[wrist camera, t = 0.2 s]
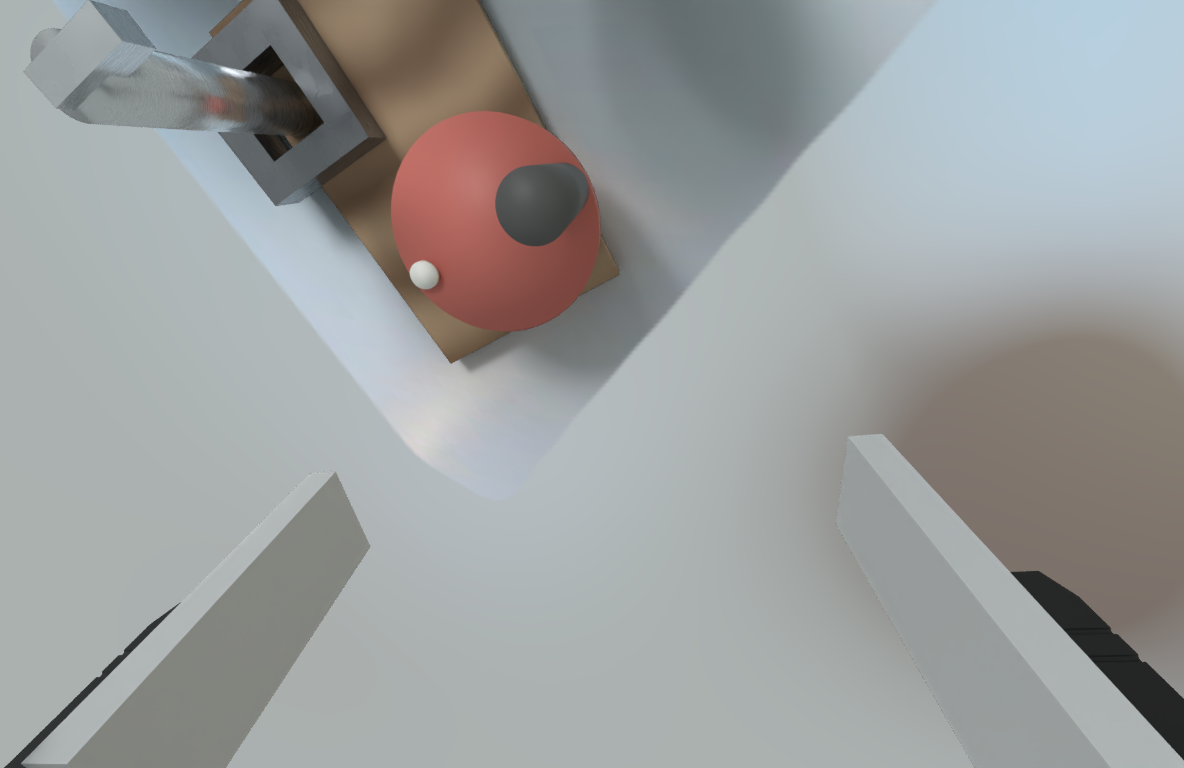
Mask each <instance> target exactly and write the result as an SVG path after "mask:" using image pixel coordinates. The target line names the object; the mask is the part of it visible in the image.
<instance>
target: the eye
mask: <svg viewBox="0 0 1184 768" xmlns="http://www.w3.org/2000/svg"><path fill="white" fill-rule="evenodd" d="M191 59H195V60H199V61H203V62H208V63H212V64H217V65H221V66H226V67H230V68H234V69H239V70H243V71H248V72H252V73H257V74H261V75H266V76H270V77H271V76H272V75H273V74H274V73H275V72H277V71H278V70H279V69H280V68H281V67H282V66H284V65H285V66H286V68H287V69H288V71H289V72H290V74H291V75H292V77H293V78H294V80H295V81H296V82H297V84H298V85H299V87H300V88H301V90H302V91H303V93H304V94H305V95H306V97H307V98H308V100H309V101H310V103H311V104H312V106H313V107H314V108H315V110H316V111H317V113H318V114H319V116H320V117H321V119H322V120H323V121H324V123H323V124H322V125H321V126H320V127H318V128H317V129H316V130H314V131H313V132H312V133H311V134H309V135H308V136H307V137H306V138H304V139H303V140H302V141H300V142H299V143H298V144H297V145H295V146H294V147H293V148H291V149H289V148H288V146H287V145H286V144H285V142H284V141H283V140H282V138H281V137H280V135H264V134H248V133H231V132H218V133H219V134H220V135H221V137H222V138H223V139H224V141H225V142H226V143H227V144H228V146H229V147H230V148H231V149H232V151H233V152H234V153H235V155H236V156H237V157H238V158H239V160H240V161H241V162H242V164H243V165H244V166H245V167H246V169H247V170H248V171H249V173H250V174H251V175H252V176H253V178H254V179H255V180H256V181H257V183H258V184H259V185H260V187H261V188H262V189H263V190H264V192H265V193H266V194H267V196H268V197H269V198H270V199H271V201H272V202H273V203H274V205H275V206H280V205H287V204H294V203H299V202H301V201H302V200H304V199H305V198H306V197H308V196H309V195H310V194H312V193H313V192H314V191H316V190H317V189H319V188H320V187H321V186H323V185H324V184H325V183H327V182H328V181H329V180H331V179H332V178H334V177H335V176H336V175H338V174H339V173H340V172H342V171H343V170H345V169H346V168H347V167H349V166H350V165H351V164H353V163H354V162H355V161H357V160H358V159H360V158H361V157H362V156H364V155H365V154H366V153H368V152H369V151H371V150H372V149H373V148H375V147H376V146H377V145H379V144H380V143H381V142H383V141H384V140H386V139H387V137H386V135H385V134H384V132H383V131H382V129H381V128H380V126H379V125H378V123H377V122H376V120H375V119H374V117H373V115H372V114H371V112H370V111H369V109H368V108H367V106H366V105H365V103H364V102H363V100H362V99H361V97H360V95H359V94H358V92H357V91H356V89H355V88H354V86H353V85H352V83H351V82H350V80H349V78H348V77H347V75H346V74H345V72H344V71H343V69H342V68H341V66H340V65H339V63H338V62H337V60H336V58H335V57H334V55H333V54H332V52H331V51H330V49H329V48H328V46H327V45H326V43H325V42H324V40H323V38H322V37H321V35H320V34H319V32H318V31H317V29H316V28H315V26H314V25H313V23H312V22H311V20H310V18H309V17H308V15H307V14H306V12H305V11H304V9H303V8H302V6H301V5H300V3H299V1H298V0H253V1H252V2H251V3H250V4H249V5H248V6H247V7H246V8H244V9H243V10H242V11H241V12H240V13H239V14H238V15H237V16H236V17H235V18H234V19H233V20H232V21H231V22H230V23H228V24H227V25H226V26H225V27H224V28H223V29H222V30H221V31H220V32H219V33H218V34H217V35H216V36H215V37H214V38H212V39H211V40H210V41H209V42H208V43H207V44H206V45H205V46H204V47H203V48H202V49H201V50H200V51H199V52H198V53H196V54H195V55H194V56H193V57H192V58H191Z"/></svg>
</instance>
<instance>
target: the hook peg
mask: <svg viewBox="0 0 1184 768" xmlns="http://www.w3.org/2000/svg"><path fill="white" fill-rule="evenodd" d="M155 50H156V48H155V46H154V45H153V44H152V43H151V41H150V40H149V39H148V37H147V36H146V35H145V34H144V32H143V31H142V30H141V29H140V27H139V26H138V25H137V23H136V22H135V21H134V20H133V18H132V17H131V16H130V14H129V13H128V12H127V11H126V10H123V9H119V8H116V7H112V6H109V5H105V4H102V3H99V2H95V1H92V0H88V1H87V2H86V3H85V4H84V5H83V6H82V7H81V9H80V10H79V11H78V12H77V13H76V14H75V15H74V16H73V17H72V18H71V20H70V21H69V22H68V23H67V24H66V25H65V26H64V27H63V28H62V29H55V28H51V29H45V30H43V31H41V32H39V33H38V34H37V35H36V37H35V38H34V40H33V42H32V46H31V63H30V64H29V66H28V67H27V68H26V69H25V70H24V71H23V72H24V73H25V74H26V75H27V77H28V78H29V79H30V80H31V81H32V82H33V83H34V84H35V85H36V87H37V88H38V89H39V90H40V91H41V92H42V93H43V94H44V95H45V97H46V98H47V99H48V100H49V101H50V102H51V103H52V105H53V106H54V107H55V108H58V109H60V110H61V111H63V112H64V113H66V114H67V115H68V116H70V117H71V118H74V119H75V120H78V121H80V122H84V123H88V124H102V125H118V126H134V127H150V128H166V129H183V130H199V131H215V132H231V133H248V134H264V135H280V136H296V137H307V136H308V135H309V134H311V133H312V132H313V131H314V130H316V129H317V128H318V127H320V125H321V121H322V119H321V117H320V116H319V114H318V113H317V111H316V110H315V108H314V107H313V106H312V104H311V103H310V101H309V100H308V98H307V97H306V95H305V94H304V93H303V91H302V90H301V88H300V87H299V85H298V84H297V83H296V82H292V81H288V80H283V79H279V78H274V77H270V76H266V75H261V74H257V73H252V72H248V71H243V70H239V69H234V68H230V67H226V66H221V65H217V64H212V63H208V62H203V61H199V60H195V59H190V58H186V57H181V56H177V55H172V54H168V53H164V52H159V51H155Z"/></svg>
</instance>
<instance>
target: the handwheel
mask: <svg viewBox="0 0 1184 768" xmlns="http://www.w3.org/2000/svg"><path fill="white" fill-rule="evenodd" d="M391 219H392V229H393V233H394V238H395V242H396V245H397V248H398V251H399V254H400V257H401V259H402V261H403V263H404V265H405V267H406V269H407V271H408V272H409V274H410V278H411V280H412V282H413V283H414V284H415V285H416V286H417V287H419V288H420V289H421V291H422V292H423V293H424V294H425V295H426V296H427V297H428V298H429V299H430V300H431V301H432V302H433V303H434V304H436V305H437V306H438V307H439V308H441V309H442V310H443V311H445V312H446V313H448V314H449V315H451V316H452V317H454V318H456V319H458V320H460V321H462V322H464V323H466V324H469V325H472V326H475V327H478V328H482V329H486V330H492V331H519V330H526V329H529V328H533V327H536V326H539V325H541V324H544V323H546V322H548V321H550V320H552V319H553V318H555V317H556V316H558V315H560V314H561V313H562V312H563V311H564V310H566V309H567V308H568V307H569V306H570V305H571V304H572V303H573V302H574V301H575V300H576V299H577V297H578V296H579V294H580V293H581V292H582V290H583V289H584V287H585V285H586V283H587V281H588V280H589V278H590V276H591V273H592V270H593V267H594V264H595V261H596V258H597V254H598V249H599V244H600V233H601V225H600V213H599V207H598V202H597V198H596V195H595V191H594V188H593V186H592V184H591V181H590V179H589V177H588V175H587V173H586V171H585V170H584V168H583V166H582V165H581V163H580V162H579V160H578V159H577V158H576V156H575V155H574V154H573V152H572V151H571V150H570V149H569V148H568V147H567V146H566V145H565V144H564V143H563V142H562V141H561V140H560V139H558V138H557V137H556V136H554V135H553V134H552V133H550V132H549V131H547V130H546V129H544V128H542V127H541V126H539V125H537V124H535V123H532V122H530V121H527V120H525V119H522V118H520V117H517V116H514V115H510V114H506V113H502V112H492V111H476V112H468V113H463V114H459V115H455V116H453V117H450V118H448V119H445V120H443V121H441V122H440V123H438V124H436V125H435V126H433V127H431V128H430V129H429V130H428V131H426V132H425V133H424V134H423V135H422V136H420V137H419V139H418V140H417V141H416V142H415V143H414V144H413V145H412V147H411V148H410V149H409V151H408V153H407V154H406V156H405V157H404V159H403V161H402V163H401V165H400V168H399V170H398V172H397V175H396V179H395V182H394V186H393V192H392V199H391Z"/></svg>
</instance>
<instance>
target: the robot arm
mask: <svg viewBox="0 0 1184 768" xmlns="http://www.w3.org/2000/svg"><path fill="white" fill-rule="evenodd" d="M836 525H837V528H838V529H839V531H840V533H841V535H842V536H843V538H844V539H845V542H846V543H847V545H848V547H849V548H850V550H851V552H852V553H853V555H854V557H855V559H856V561H857V563H858V564H859V566H860V568H861V570H862V571H863V573H864V575H865V576H866V578H867V580H868V581H869V584H870V585H871V587H872V589H873V591H874V592H875V594H876V596H877V598H878V599H879V601H880V603H881V605H882V606H883V608H884V610H885V612H886V613H887V615H888V617H889V619H890V620H891V622H892V624H893V626H894V627H895V629H896V631H897V633H898V634H899V636H900V638H901V640H902V642H903V643H904V645H905V647H906V648H907V650H908V652H909V654H910V655H911V657H912V659H913V661H914V663H915V664H916V666H917V668H918V669H919V671H920V673H921V675H922V677H923V678H924V680H925V682H926V683H927V685H928V687H929V689H930V690H931V692H932V694H933V696H934V698H935V699H936V701H937V703H938V705H939V706H940V708H941V710H942V711H943V713H944V715H945V717H946V718H947V720H948V722H949V724H950V726H951V727H952V729H953V731H954V733H955V734H956V736H957V738H958V740H959V741H960V743H961V745H962V747H963V748H964V750H965V752H966V754H967V755H968V757H969V759H970V761H971V762H972V764H973V766H974V768H1184V699H1183V698H1182V697H1181V696H1180V695H1179V694H1178V693H1177V692H1176V691H1175V690H1174V689H1173V688H1172V687H1171V686H1170V685H1169V684H1168V683H1167V682H1166V681H1165V680H1164V679H1163V678H1162V677H1161V676H1160V675H1159V674H1158V673H1156V671H1154V669H1152V668H1151V667H1150V666H1149V665H1148V664H1147V663H1146V662H1142V661H1141V660H1140V659H1139V657H1138V654H1137V653H1136V652H1135V651H1134V650H1133V649H1132V648H1131V647H1130V646H1129V645H1128V644H1127V643H1126V642H1125V641H1124V640H1123V639H1121V637H1120V636H1119V635H1117V634H1113V633H1112V632H1111V628H1110V627H1109V626H1108V625H1107V624H1106V623H1105V622H1104V621H1103V620H1102V619H1101V618H1100V617H1099V616H1098V615H1097V614H1096V613H1095V612H1094V611H1093V610H1092V609H1091V608H1090V607H1089V606H1088V605H1087V604H1086V603H1085V602H1084V601H1083V600H1082V599H1081V598H1080V597H1079V596H1077V595H1075V594H1074V593H1072V592H1071V591H1069V590H1068V589H1066V588H1064V587H1063V586H1061V585H1060V584H1058V583H1056V582H1055V581H1053V580H1052V579H1050V578H1049V577H1047V576H1046V575H1044V574H1042V573H1041V572H1039V571H1026V572H1009V571H1008V570H1007V568H1005V566H1004V565H1003V564H1002V563H1001V562H1000V561H999V560H998V559H997V558H996V557H995V555H993V553H992V552H991V551H990V550H989V549H988V548H987V547H986V546H985V545H984V544H983V542H982V541H981V540H980V539H979V538H978V537H977V536H976V535H975V534H974V533H973V532H972V531H971V530H970V528H969V527H968V526H967V525H966V524H965V523H964V522H963V521H962V520H961V519H960V518H959V517H958V515H957V514H956V513H955V512H954V511H953V510H952V509H951V508H950V507H949V506H948V505H947V504H946V502H945V501H944V500H943V499H942V498H941V497H940V496H939V495H938V494H937V493H936V492H935V491H934V489H933V488H932V487H931V486H930V485H929V484H928V483H927V482H926V481H925V480H924V479H923V478H922V476H921V475H920V474H919V473H918V472H917V471H916V470H915V469H914V468H913V467H912V466H911V465H910V463H909V462H908V461H907V460H906V459H905V458H904V457H903V456H902V455H901V454H900V453H899V452H898V450H897V449H896V448H895V447H894V446H893V445H892V444H891V443H890V442H889V441H888V440H887V439H886V438H885V436H884V435H883V434H874V435H860V436H848V439H847V446H846V454H845V461H844V468H843V476H842V482H841V490H840V497H839V504H838V511H837V519H836ZM369 548H370V545H369V543H368V540H367V538H366V536H365V534H364V532H363V530H362V528H361V525H360V523H359V521H358V519H357V517H356V515H355V512H354V510H353V508H352V506H351V504H350V502H349V500H348V497H347V495H346V493H345V491H344V489H343V487H342V484H341V482H340V480H339V478H338V476H337V474H336V472H323V473H310V474H309V475H308V476H307V477H306V478H305V479H304V480H303V481H302V482H301V483H300V484H299V485H298V486H297V487H296V488H295V489H294V490H293V491H292V492H291V493H290V494H289V495H288V496H287V497H286V498H285V499H284V500H283V501H282V502H281V503H280V504H279V505H278V506H277V507H276V508H275V509H274V510H273V511H272V512H271V513H270V514H269V515H268V516H267V517H266V518H265V519H264V520H263V521H262V522H261V523H260V524H259V525H258V526H257V527H256V528H255V529H254V530H253V531H252V532H251V533H250V534H249V535H248V536H247V537H246V538H245V539H244V540H243V541H242V542H241V543H240V544H239V545H238V546H237V547H236V548H235V549H234V550H233V551H232V552H231V553H230V554H229V555H228V556H227V557H226V558H225V559H224V560H223V561H222V562H221V563H220V564H219V565H218V566H217V567H216V568H215V569H214V570H213V571H212V572H211V573H210V574H209V575H208V576H207V577H206V578H205V579H204V580H203V581H202V582H201V583H200V584H199V585H198V586H197V587H196V588H195V589H194V590H193V591H192V592H191V593H190V594H189V595H188V596H187V597H186V598H185V599H184V600H183V601H182V602H181V603H179V604H178V605H176V606H175V607H173V608H172V609H171V610H169V611H168V612H167V613H165V614H164V615H163V616H161V617H160V618H158V619H157V620H155V621H154V622H153V623H151V624H150V625H149V626H148V627H147V628H146V629H145V630H144V631H143V632H142V633H141V634H140V635H139V636H138V637H137V638H136V639H135V640H134V641H133V642H132V643H131V644H130V645H129V646H128V647H127V648H126V649H125V650H124V654H123V655H119V656H118V657H116V658H115V660H113V662H111V664H109V665H108V666H107V667H106V668H105V669H104V670H103V671H102V675H101V676H100V677H96V678H95V679H94V680H93V681H92V682H91V683H90V684H89V685H88V686H87V687H86V688H85V689H84V690H83V691H82V692H81V693H80V694H79V695H78V696H77V697H76V698H75V699H74V700H73V701H72V702H71V703H70V704H69V705H68V706H67V707H66V708H65V709H64V710H63V711H62V712H61V713H60V714H59V715H58V716H57V717H56V718H55V719H54V720H52V721H51V722H50V724H48V725H47V726H46V727H45V729H43V730H42V731H41V732H40V733H39V734H38V735H37V736H36V737H35V738H34V739H33V740H32V741H31V742H30V743H29V744H28V745H27V746H26V747H25V748H24V749H23V750H22V751H21V752H20V753H19V754H18V755H17V756H16V757H15V758H14V759H13V760H12V761H11V762H10V763H9V764H8V765H7V766H5V767H4V768H226V766H227V765H228V764H229V762H230V761H231V759H232V757H233V756H234V754H235V753H236V751H237V750H238V748H239V747H240V745H241V744H242V742H243V740H244V739H245V738H246V736H247V735H248V733H249V731H250V730H251V728H252V727H253V725H254V724H255V722H256V721H257V719H258V718H259V716H260V715H261V713H262V712H263V710H264V709H265V707H266V706H267V704H268V702H269V701H270V699H271V698H272V696H273V695H274V693H275V692H276V690H277V689H278V687H279V686H280V684H281V683H282V681H283V680H284V678H285V676H286V675H287V673H288V672H289V670H290V669H291V667H292V666H293V664H294V663H295V661H296V660H297V658H298V656H299V655H300V653H301V652H302V650H303V649H304V647H305V646H306V644H307V642H308V641H309V640H310V638H311V637H312V635H313V633H314V632H315V631H316V629H317V628H318V626H319V624H320V623H321V621H322V620H323V618H324V616H325V615H326V614H327V612H328V611H329V609H330V608H331V606H332V605H333V603H334V601H335V600H336V598H337V597H338V595H339V594H340V592H341V591H342V589H343V588H344V586H345V585H346V583H347V581H348V580H349V579H350V577H351V575H352V574H353V572H354V571H355V569H356V568H357V566H358V565H359V563H360V562H361V560H362V559H363V557H364V556H365V554H366V552H367V551H368V549H369Z"/></svg>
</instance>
